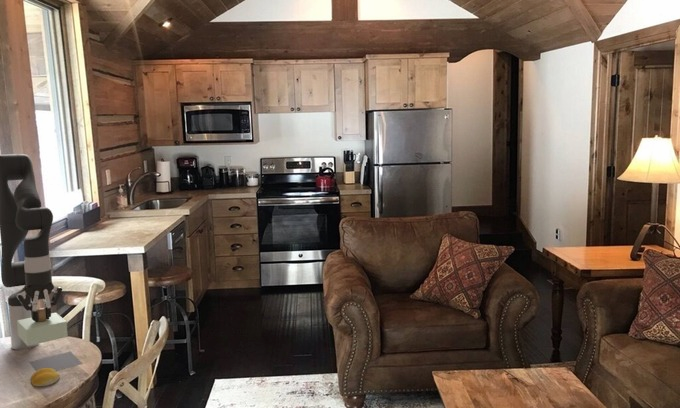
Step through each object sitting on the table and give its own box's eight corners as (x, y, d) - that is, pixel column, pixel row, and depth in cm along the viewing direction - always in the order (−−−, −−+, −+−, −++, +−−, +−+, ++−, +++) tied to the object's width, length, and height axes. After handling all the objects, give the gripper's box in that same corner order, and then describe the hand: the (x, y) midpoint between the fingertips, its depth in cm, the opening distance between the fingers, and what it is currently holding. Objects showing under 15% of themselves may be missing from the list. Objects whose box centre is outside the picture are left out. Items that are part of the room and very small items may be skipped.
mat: (28, 362, 197) (28, 361, 197) (70, 352, 206) (70, 351, 206) (39, 376, 186) (39, 375, 186) (82, 364, 196) (82, 363, 196)
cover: (18, 335, 181) (16, 308, 180) (56, 327, 189) (55, 301, 188) (27, 346, 173) (25, 317, 171) (67, 336, 181) (65, 309, 179)
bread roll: (35, 390, 177) (34, 378, 177) (29, 380, 184) (28, 369, 183) (63, 382, 183) (62, 371, 182) (55, 373, 189) (55, 362, 189)
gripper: (57, 263, 185) (61, 312, 188) (10, 270, 176) (14, 321, 178) (64, 267, 180) (67, 318, 182) (16, 274, 170) (20, 328, 173)
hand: (41, 319), depth 180 cm, fingers closed on cover, 3 cm apart
